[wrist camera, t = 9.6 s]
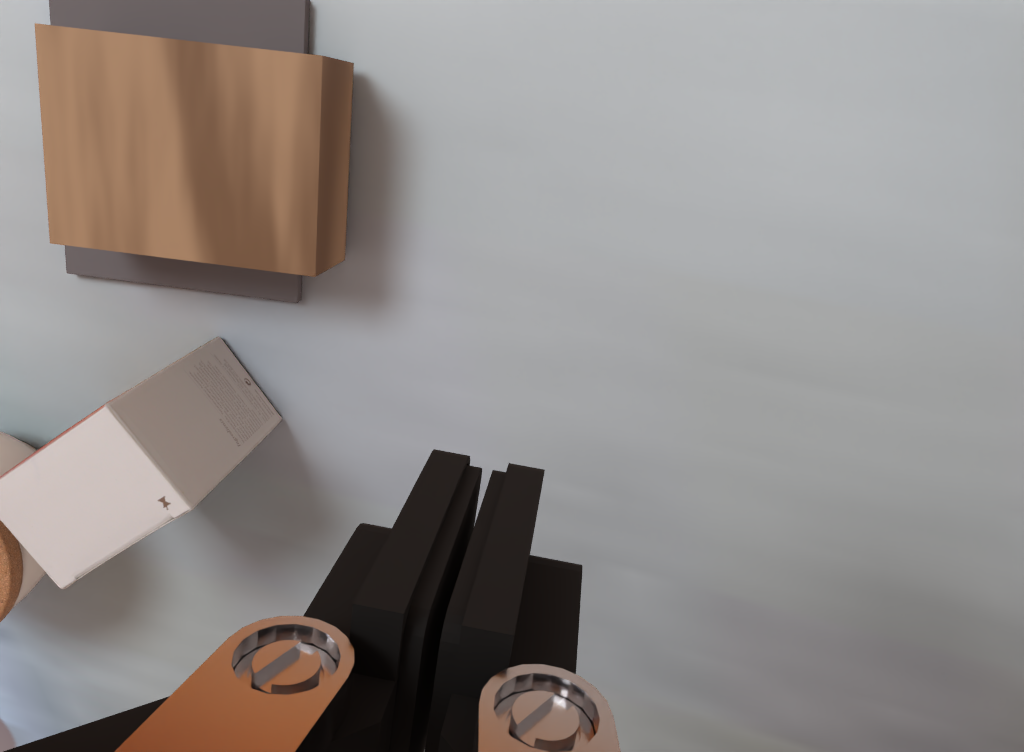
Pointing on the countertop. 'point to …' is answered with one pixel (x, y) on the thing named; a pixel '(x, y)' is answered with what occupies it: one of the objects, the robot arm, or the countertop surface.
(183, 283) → the mat
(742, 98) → the countertop surface
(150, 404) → the small box
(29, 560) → the lidded jar
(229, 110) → the slab
